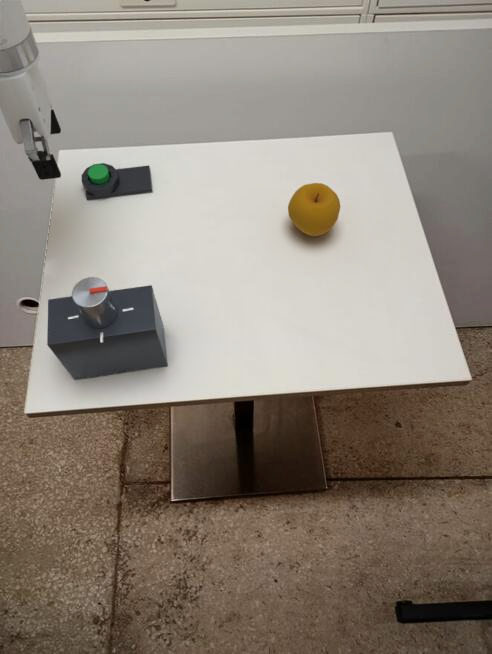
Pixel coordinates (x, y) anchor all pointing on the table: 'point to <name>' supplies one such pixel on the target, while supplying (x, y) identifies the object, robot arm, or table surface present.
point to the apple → (314, 209)
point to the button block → (119, 182)
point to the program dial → (94, 302)
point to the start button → (98, 174)
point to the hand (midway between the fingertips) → (50, 154)
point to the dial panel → (108, 336)
